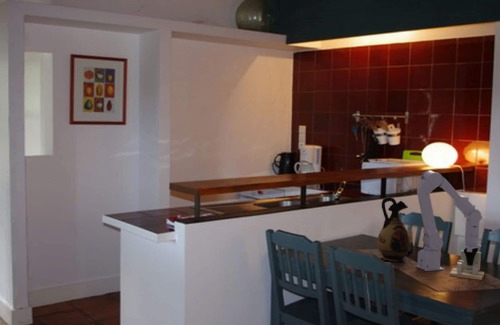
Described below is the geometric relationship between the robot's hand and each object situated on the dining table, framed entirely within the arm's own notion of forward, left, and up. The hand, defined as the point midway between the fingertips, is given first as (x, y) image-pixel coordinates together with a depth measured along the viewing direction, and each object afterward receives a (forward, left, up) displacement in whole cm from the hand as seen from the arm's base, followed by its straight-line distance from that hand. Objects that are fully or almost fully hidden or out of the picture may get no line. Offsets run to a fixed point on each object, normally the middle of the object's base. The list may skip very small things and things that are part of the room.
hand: (470, 264), depth 264 cm
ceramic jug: (-26, +24, -2) cm, 35 cm away
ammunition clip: (-13, +35, -2) cm, 37 cm away
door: (0, 0, -2) cm, 2 cm away
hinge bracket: (-8, -8, -2) cm, 12 cm away
